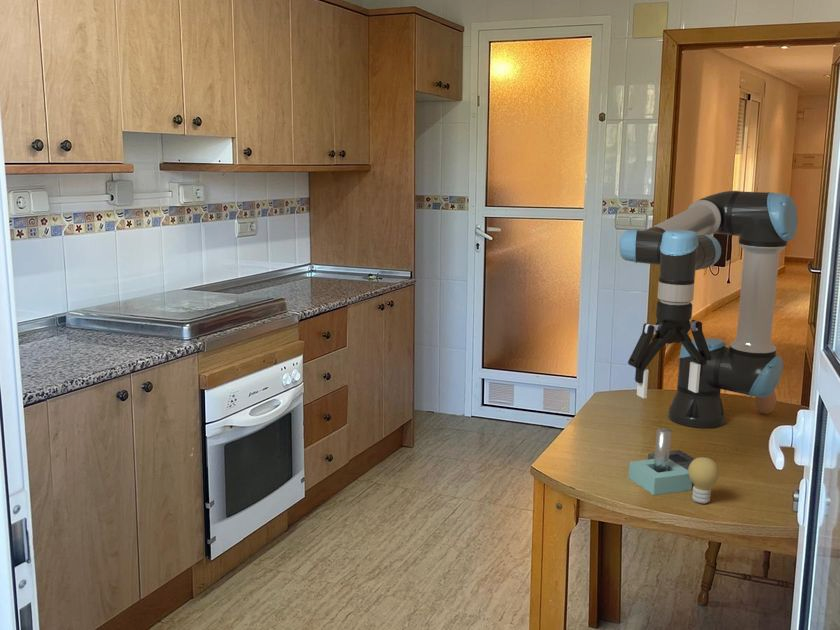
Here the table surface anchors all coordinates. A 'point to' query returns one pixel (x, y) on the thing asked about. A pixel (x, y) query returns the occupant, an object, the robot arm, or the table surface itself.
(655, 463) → the pin
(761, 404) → the egg
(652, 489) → the socket
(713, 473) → the light bulb
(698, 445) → the table surface
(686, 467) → the mount
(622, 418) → the table surface
